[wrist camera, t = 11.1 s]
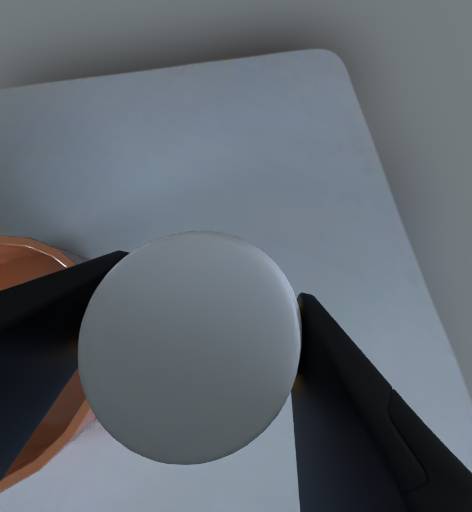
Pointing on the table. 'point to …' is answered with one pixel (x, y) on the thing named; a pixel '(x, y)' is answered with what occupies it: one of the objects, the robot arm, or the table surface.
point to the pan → (72, 397)
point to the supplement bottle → (190, 347)
